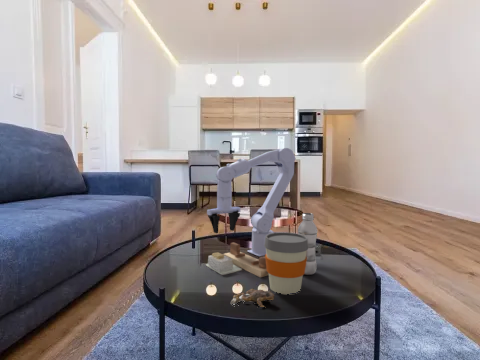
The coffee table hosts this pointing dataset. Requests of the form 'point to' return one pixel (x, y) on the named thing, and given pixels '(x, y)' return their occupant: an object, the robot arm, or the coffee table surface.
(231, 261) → the brass-inlaid steel block
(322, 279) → the coffee table surface
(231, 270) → the felt pad
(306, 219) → the plastic bottle
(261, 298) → the frog figurine
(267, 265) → the reusable coffee cup
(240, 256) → the hand plane
